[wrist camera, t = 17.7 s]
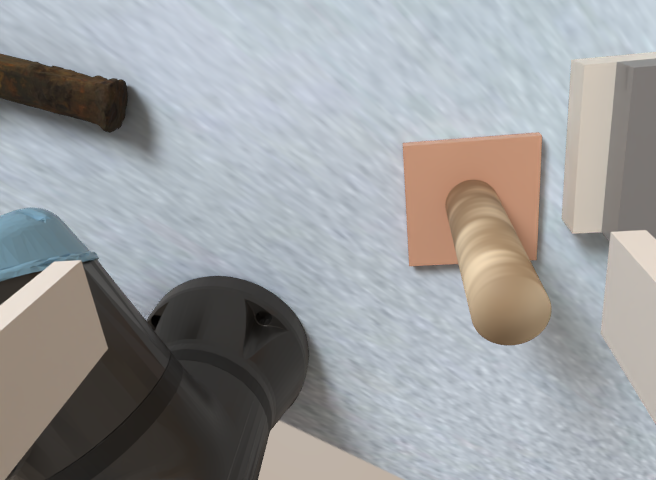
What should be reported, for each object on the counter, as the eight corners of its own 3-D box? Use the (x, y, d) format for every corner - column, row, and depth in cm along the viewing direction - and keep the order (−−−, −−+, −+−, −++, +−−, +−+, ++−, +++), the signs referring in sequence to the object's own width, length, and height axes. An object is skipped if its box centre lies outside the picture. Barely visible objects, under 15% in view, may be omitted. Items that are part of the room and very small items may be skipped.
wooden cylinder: (445, 229, 45) (471, 346, 30) (444, 181, 43) (470, 280, 29) (498, 226, 44) (549, 344, 30) (498, 177, 43) (553, 276, 28)
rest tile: (408, 260, 48) (409, 266, 47) (402, 142, 44) (402, 146, 43) (533, 254, 46) (536, 260, 45) (538, 132, 42) (541, 135, 41)
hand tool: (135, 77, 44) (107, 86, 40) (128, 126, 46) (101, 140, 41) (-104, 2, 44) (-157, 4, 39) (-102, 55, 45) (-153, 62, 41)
